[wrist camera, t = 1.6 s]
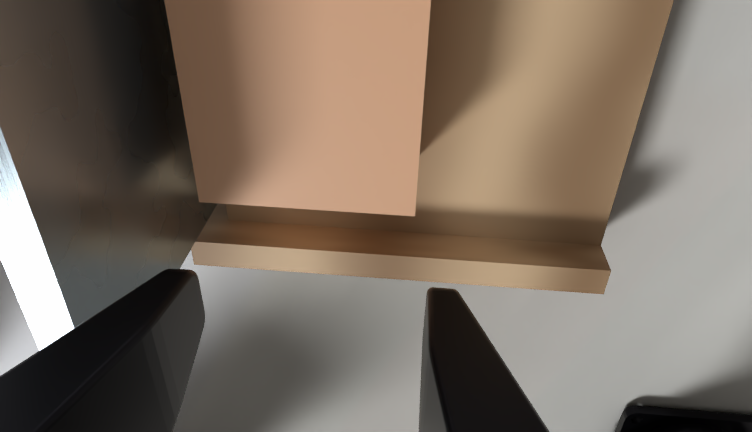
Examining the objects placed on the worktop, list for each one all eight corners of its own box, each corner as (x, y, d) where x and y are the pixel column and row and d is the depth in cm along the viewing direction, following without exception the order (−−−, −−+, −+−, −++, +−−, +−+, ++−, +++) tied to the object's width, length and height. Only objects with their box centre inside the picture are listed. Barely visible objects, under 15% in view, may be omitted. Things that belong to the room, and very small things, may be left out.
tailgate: (137, -167, 15) (173, -166, 15) (198, 189, 21) (224, 191, 21) (-182, -169, 7) (-108, -166, 7) (60, 398, 13) (101, 402, 13)
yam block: (432, -45, 15) (431, -17, 12) (417, 156, 19) (414, 216, 16) (210, -54, 16) (159, -29, 13) (235, 145, 19) (199, 201, 16)
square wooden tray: (713, -224, 14) (774, -237, 12) (584, 241, 22) (603, 294, 19) (152, -237, 15) (95, -251, 12) (220, 217, 23) (194, 264, 20)
